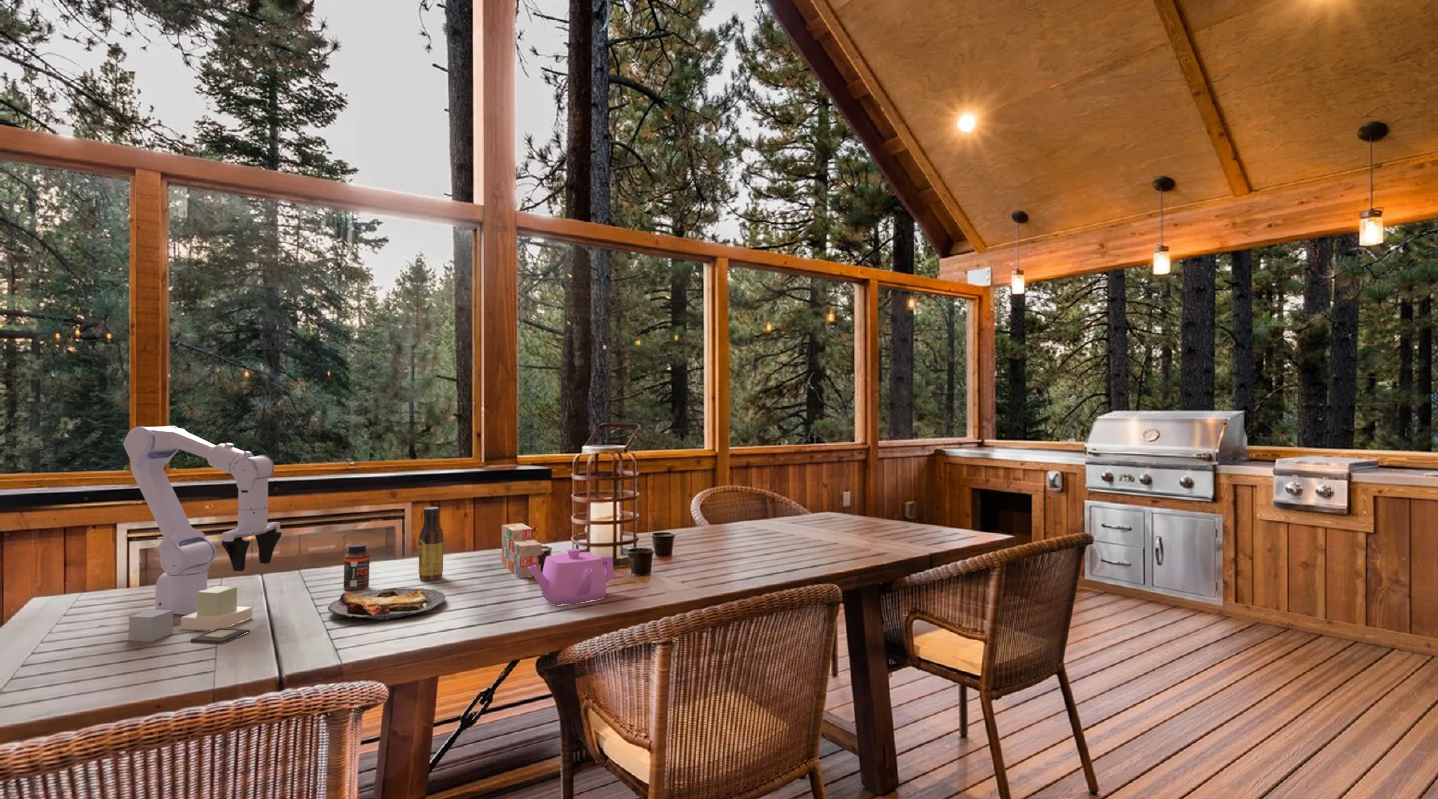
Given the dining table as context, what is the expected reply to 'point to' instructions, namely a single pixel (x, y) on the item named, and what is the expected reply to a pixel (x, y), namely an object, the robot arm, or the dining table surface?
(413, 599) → the food plate
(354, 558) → the supplement bottle
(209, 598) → the sage block
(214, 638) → the tile
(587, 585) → the teakettle
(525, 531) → the stack of blocks
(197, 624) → the base block
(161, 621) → the grey block
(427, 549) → the sauce bottle
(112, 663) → the dining table surface
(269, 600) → the dining table surface
